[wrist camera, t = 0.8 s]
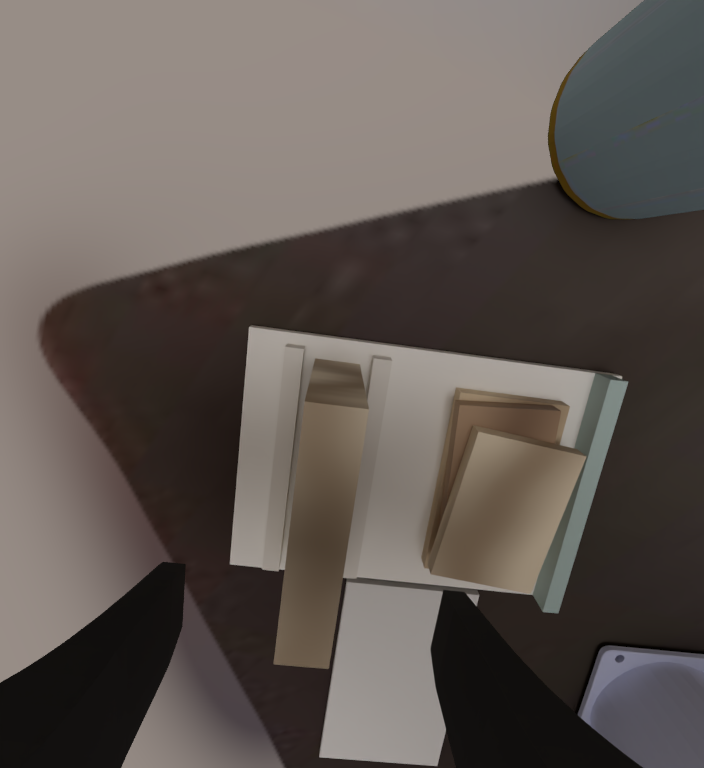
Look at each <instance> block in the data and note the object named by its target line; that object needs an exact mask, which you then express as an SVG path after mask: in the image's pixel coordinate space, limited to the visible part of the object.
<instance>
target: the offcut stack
mask: <svg viewBox="0 0 704 768" xmlns="http://www.w3.org/2000/svg"><path fill="white" fill-rule="evenodd" d="M569 409H570V406H569V405H567V404H566V403H564V402H562V401H557V400H549V399H542V398H534V397H526V396H518V395H511V394H503V393H495V392H487V391H479V390H472V389H464V388H456V390H455V395H454V400H453V405H452V410H451V415H450V420H449V424H448V429H447V434H446V439H445V444H444V449H443V454H442V459H441V464H440V469H439V473H438V478H437V483H436V488H435V493H434V498H433V503H432V508H431V513H430V518H429V522H428V527H427V532H426V537H425V542H424V547H423V552H422V557H421V559H422V562H423V566H424V568H427V569H429V570H430V574H431V575H436V576H442V577H447V578H452V579H457V580H462V581H467V582H472V583H477V584H482V585H487V586H492V587H497V588H502V589H507V590H512V591H517V592H523V593H528V594H531V592H532V590H533V587H534V585H535V582H536V580H537V577H538V575H539V573H540V570H541V568H542V565H543V563H544V560H545V558H546V555H547V553H548V550H549V548H550V545H551V543H552V540H553V538H554V536H555V533H556V531H557V528H558V526H559V523H560V521H561V518H562V516H563V513H564V511H565V508H566V506H567V504H568V501H569V499H570V496H571V494H572V491H573V489H574V486H575V484H576V481H577V479H578V476H579V474H580V472H581V469H582V467H583V464H584V462H585V459H586V457H587V456H585V455H584V454H583V453H581V452H580V451H579V450H578V449H575V448H571V447H566V446H562V445H560V442H561V438H562V434H563V431H564V427H565V423H566V420H567V416H568V412H569Z"/></svg>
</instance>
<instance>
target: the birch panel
mask: <svg viewBox="0 0 704 768" xmlns="http://www.w3.org/2000/svg"><path fill="white" fill-rule="evenodd" d="M368 413H369V406H368V402H367V397H366V392H365V387H364V382H363V377H362V372H361V367H360V364H355V363H347V362H340V361H332V360H324V359H317V358H315V361H314V365H313V369H312V373H311V377H310V381H309V385H308V389H307V393H306V397H305V402H304V410H303V419H302V427H301V436H300V444H299V453H298V461H297V470H296V478H295V487H294V495H293V504H292V512H291V521H290V529H289V538H288V546H287V555H286V563H285V572H284V580H283V589H282V597H281V606H280V614H279V623H278V631H277V640H276V649H275V657H274V664H277V665H288V666H300V667H311V668H323V669H329V664H330V657H331V651H332V645H333V638H334V632H335V625H336V619H337V612H338V606H339V600H340V593H341V587H342V580H343V574H344V568H345V561H346V555H347V548H348V542H349V535H350V529H351V523H352V516H353V510H354V503H355V497H356V491H357V484H358V478H359V471H360V465H361V458H362V452H363V446H364V439H365V433H366V426H367V420H368Z"/></svg>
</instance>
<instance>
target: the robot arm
mask: <svg viewBox="0 0 704 768" xmlns="http://www.w3.org/2000/svg"><path fill="white" fill-rule="evenodd" d="M184 584H185V564H178V563H168V562H162V563H161V564H160V565H158V566H157V567H156V568H155V569H154V570H153V571H151V572H150V573H149V574H148V575H147V576H146V577H145V578H143V579H142V580H141V581H140V582H139V583H138V584H137V585H136V586H134V587H133V588H132V589H131V590H130V591H129V592H127V593H126V594H125V595H124V596H123V597H122V598H120V599H119V600H118V601H117V602H115V603H114V604H113V605H112V606H111V607H109V608H108V609H107V610H106V611H105V612H103V613H102V614H101V615H100V616H98V617H97V618H96V619H95V620H93V621H92V622H91V623H89V624H88V625H87V626H85V627H84V628H83V629H81V630H80V631H79V632H77V633H76V634H75V635H73V636H72V637H71V638H70V639H68V640H67V641H65V642H64V643H62V644H61V645H60V646H58V647H57V648H55V649H54V650H52V651H51V652H49V653H48V654H47V655H45V656H44V657H42V658H41V659H39V660H38V661H36V662H34V663H33V664H31V665H30V666H28V667H26V668H25V669H23V670H21V671H20V672H18V673H17V674H15V675H13V676H11V677H9V678H8V679H6V680H4V681H3V682H1V683H0V768H121V767H122V764H123V762H124V760H125V757H126V755H127V753H128V751H129V749H130V747H131V745H132V742H133V740H134V738H135V736H136V734H137V732H138V730H139V727H140V725H141V723H142V721H143V719H144V717H145V715H146V713H147V711H148V709H149V707H150V704H151V702H152V700H153V698H154V696H155V694H156V692H157V690H158V687H159V685H160V683H161V681H162V679H163V677H164V674H165V672H166V670H167V668H168V666H169V663H170V660H171V657H172V655H173V652H174V649H175V646H176V643H177V640H178V637H179V634H180V632H181V628H182V621H183V603H184ZM430 651H431V658H432V666H433V673H434V680H435V686H436V691H437V695H438V699H439V703H440V707H441V711H442V715H443V719H444V723H445V727H446V731H447V734H448V738H449V742H450V746H451V750H452V754H453V758H454V761H455V765H456V768H704V654H695V653H684V652H674V651H663V650H653V649H642V648H632V647H621V646H610V645H608V646H604V647H602V648H601V649H600V651H599V653H598V656H597V659H596V662H595V665H594V668H593V671H592V673H591V676H590V679H589V682H588V685H587V688H586V691H585V694H584V697H583V700H582V703H581V706H580V709H579V712H578V715H577V714H576V713H575V712H574V711H573V710H572V709H570V708H569V707H568V706H567V705H566V704H565V703H564V702H563V701H562V700H561V699H560V698H559V697H557V696H556V695H555V694H554V693H553V692H552V691H551V690H550V689H549V688H548V687H547V686H546V685H545V684H544V683H543V682H542V681H541V680H540V679H539V678H538V677H537V676H536V675H535V673H534V672H533V671H532V670H531V669H530V668H529V667H528V666H527V665H526V664H525V663H524V662H523V661H522V660H521V659H520V657H519V656H518V655H517V654H516V653H515V652H514V651H513V650H512V648H511V647H510V646H509V645H508V644H507V643H506V642H505V640H504V639H503V638H502V637H501V636H500V634H499V633H498V632H497V631H496V630H495V628H494V627H493V626H492V625H491V624H490V622H489V621H488V620H487V619H486V618H485V616H484V615H483V614H482V613H481V611H480V610H479V609H478V608H477V606H476V605H475V604H474V603H473V602H472V600H471V599H470V598H469V597H468V595H467V594H466V593H465V592H461V591H450V590H443V594H442V598H441V603H440V607H439V612H438V616H437V621H436V625H435V630H434V634H433V639H432V643H431V648H430Z"/></svg>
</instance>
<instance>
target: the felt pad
mask: <svg viewBox="0 0 704 768" xmlns="http://www.w3.org/2000/svg"><path fill="white" fill-rule="evenodd" d="M443 590H450V591H461V592H465V593H466V594H467V595H468V597H469V598H470V599H471V600H472V602H473V603H474V604H475V605H476V606H477V603H478V598H479V593H478V591H477V590H473V589H463V588H453V587H443V586H433V585H423V584H413V583H403V582H393V581H383V580H374V579H364V578H356V579H350V578H347V580H346V587H345V593H344V599H343V606H342V612H341V618H340V624H339V631H338V637H337V643H336V650H335V656H334V662H333V669H332V675H331V681H330V688H329V694H328V700H327V707H326V713H325V719H324V726H323V732H322V738H321V744H320V753H319V757H324V758H337V759H351V760H364V761H377V762H390V763H403V764H417V765H430V766H437V764H438V760H439V756H440V752H441V748H442V744H443V740H444V736H445V732H446V727H445V723H444V719H443V715H442V711H441V707H440V703H439V699H438V695H437V691H436V686H435V680H434V673H433V666H432V658H431V651H430V648H431V643H432V639H433V634H434V630H435V625H436V621H437V616H438V612H439V607H440V603H441V598H442V594H443Z"/></svg>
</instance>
